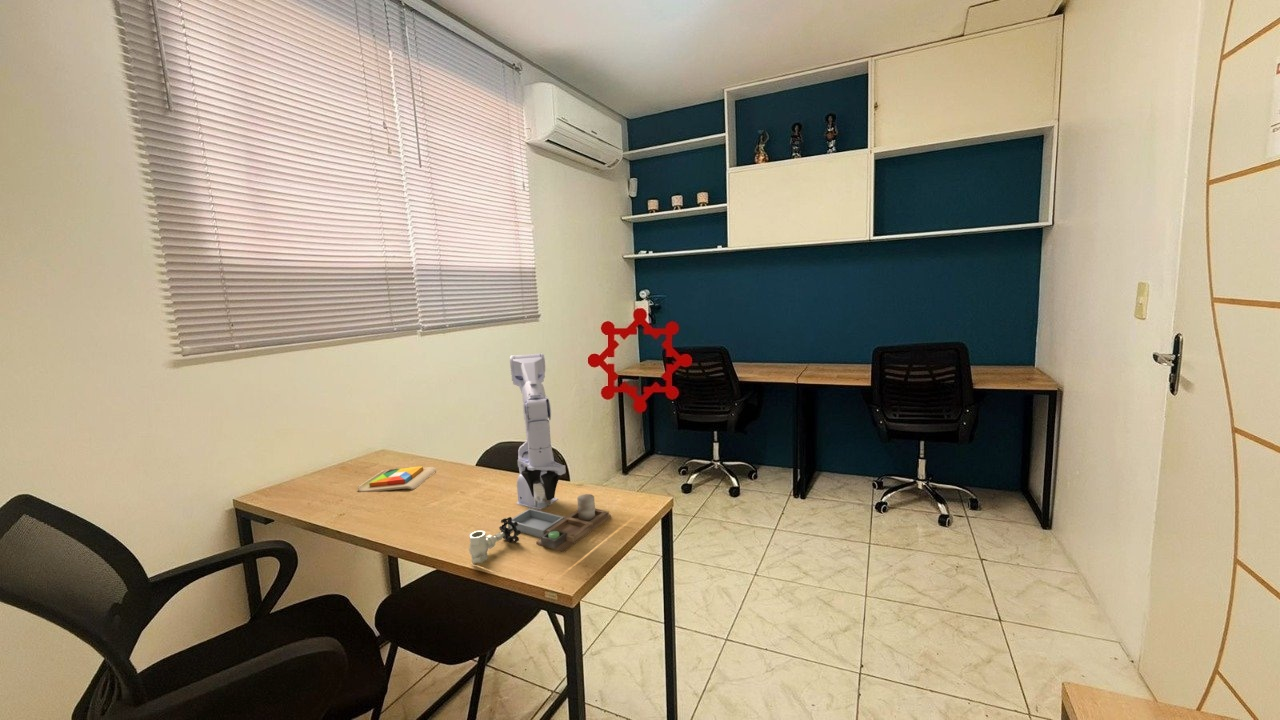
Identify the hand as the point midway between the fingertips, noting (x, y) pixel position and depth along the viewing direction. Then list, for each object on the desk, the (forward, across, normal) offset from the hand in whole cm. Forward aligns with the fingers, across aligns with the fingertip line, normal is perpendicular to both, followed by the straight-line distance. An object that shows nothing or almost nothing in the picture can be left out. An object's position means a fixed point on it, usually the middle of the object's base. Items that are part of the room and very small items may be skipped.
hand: (543, 497), depth 124 cm
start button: (+8, +8, -5) cm, 12 cm away
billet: (+2, 0, 0) cm, 2 cm away
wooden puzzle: (+9, -70, +4) cm, 71 cm away
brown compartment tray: (+9, +8, +3) cm, 12 cm away
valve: (+9, -4, -14) cm, 17 cm away
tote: (+9, -3, 0) cm, 9 cm away
